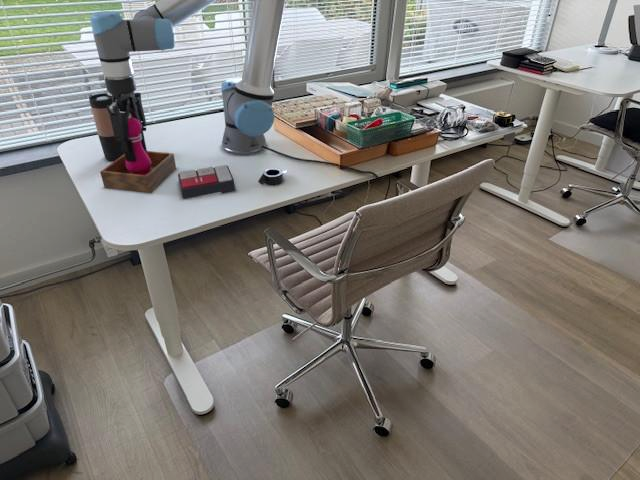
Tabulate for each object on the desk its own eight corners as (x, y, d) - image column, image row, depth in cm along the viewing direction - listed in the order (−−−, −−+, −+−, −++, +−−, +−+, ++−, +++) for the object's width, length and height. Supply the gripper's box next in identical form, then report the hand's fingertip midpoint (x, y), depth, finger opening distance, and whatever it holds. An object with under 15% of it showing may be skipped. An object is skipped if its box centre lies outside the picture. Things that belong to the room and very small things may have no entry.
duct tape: (292, 185, 138) (291, 176, 136) (259, 188, 136) (258, 179, 134) (286, 173, 144) (286, 165, 142) (254, 177, 142) (254, 168, 140)
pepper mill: (157, 172, 143) (145, 109, 131) (148, 183, 137) (134, 117, 125) (135, 171, 143) (120, 107, 132) (124, 181, 137) (108, 116, 126)
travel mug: (106, 163, 148) (89, 102, 137) (103, 155, 153) (87, 95, 142) (131, 159, 151) (116, 98, 140) (127, 151, 156) (113, 92, 145)
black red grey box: (177, 171, 136) (227, 162, 140) (180, 184, 138) (229, 175, 142) (180, 187, 127) (233, 178, 131) (183, 201, 130) (235, 191, 134)
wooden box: (176, 168, 146) (173, 153, 143) (150, 193, 132) (146, 176, 129) (134, 164, 148) (130, 149, 145) (104, 188, 134) (99, 171, 131)
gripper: (124, 66, 131) (141, 143, 144) (85, 84, 116) (107, 168, 129) (149, 68, 130) (163, 145, 143) (112, 86, 115) (132, 171, 128)
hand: (137, 156), depth 136 cm, fingers closed on pepper mill, 6 cm apart
